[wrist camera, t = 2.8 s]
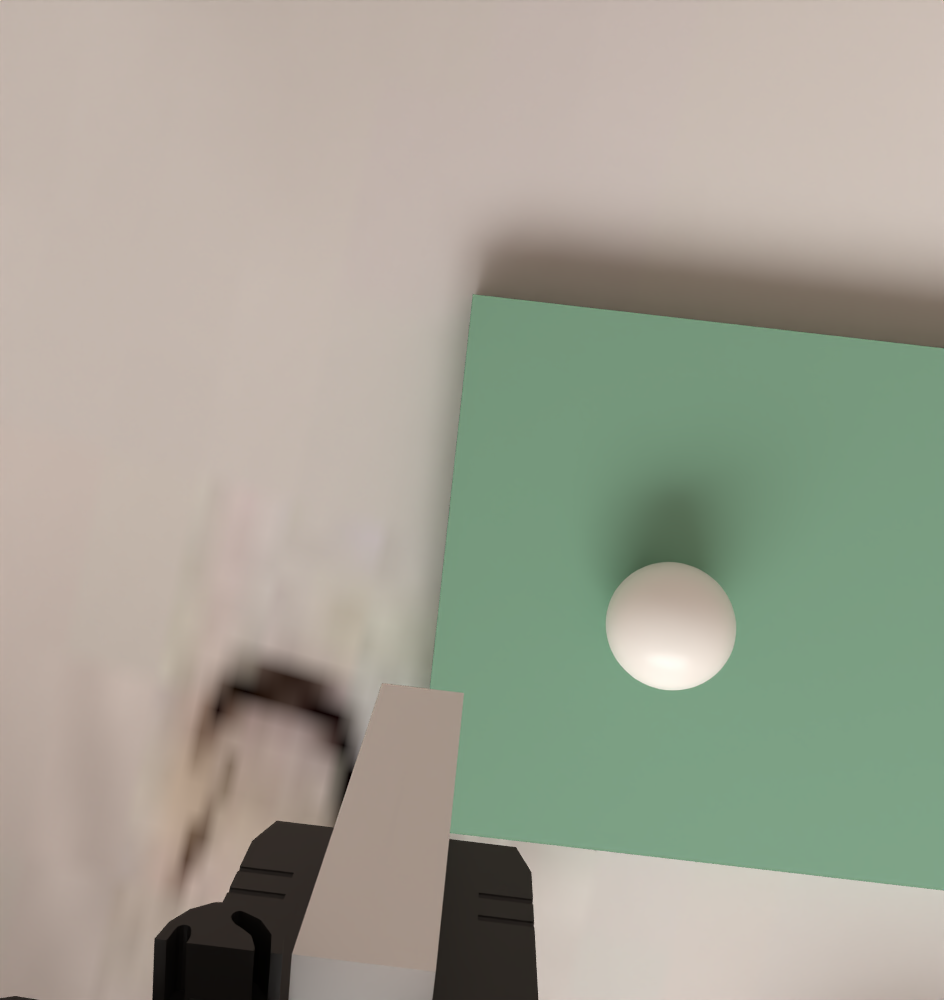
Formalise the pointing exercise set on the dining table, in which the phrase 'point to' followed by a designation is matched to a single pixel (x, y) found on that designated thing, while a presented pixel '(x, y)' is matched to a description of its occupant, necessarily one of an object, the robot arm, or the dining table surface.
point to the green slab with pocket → (723, 556)
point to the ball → (670, 626)
